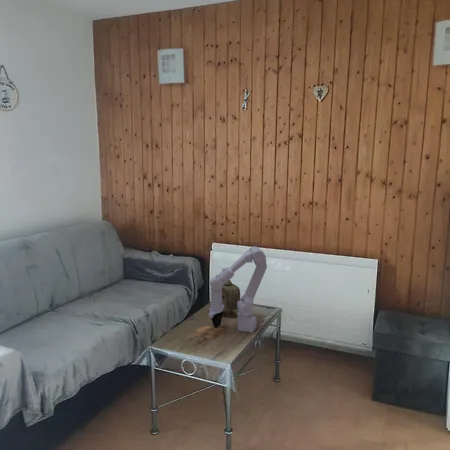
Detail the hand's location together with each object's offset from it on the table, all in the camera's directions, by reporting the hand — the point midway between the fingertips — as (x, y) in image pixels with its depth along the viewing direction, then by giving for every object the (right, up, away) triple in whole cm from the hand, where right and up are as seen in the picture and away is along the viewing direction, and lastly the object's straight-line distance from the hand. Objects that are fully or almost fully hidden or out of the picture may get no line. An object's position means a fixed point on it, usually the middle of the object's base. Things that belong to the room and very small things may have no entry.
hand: (217, 326), depth 222 cm
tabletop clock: (+6, +1, +26) cm, 27 cm away
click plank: (-3, -3, +1) cm, 5 cm away
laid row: (-6, -4, -5) cm, 9 cm away
